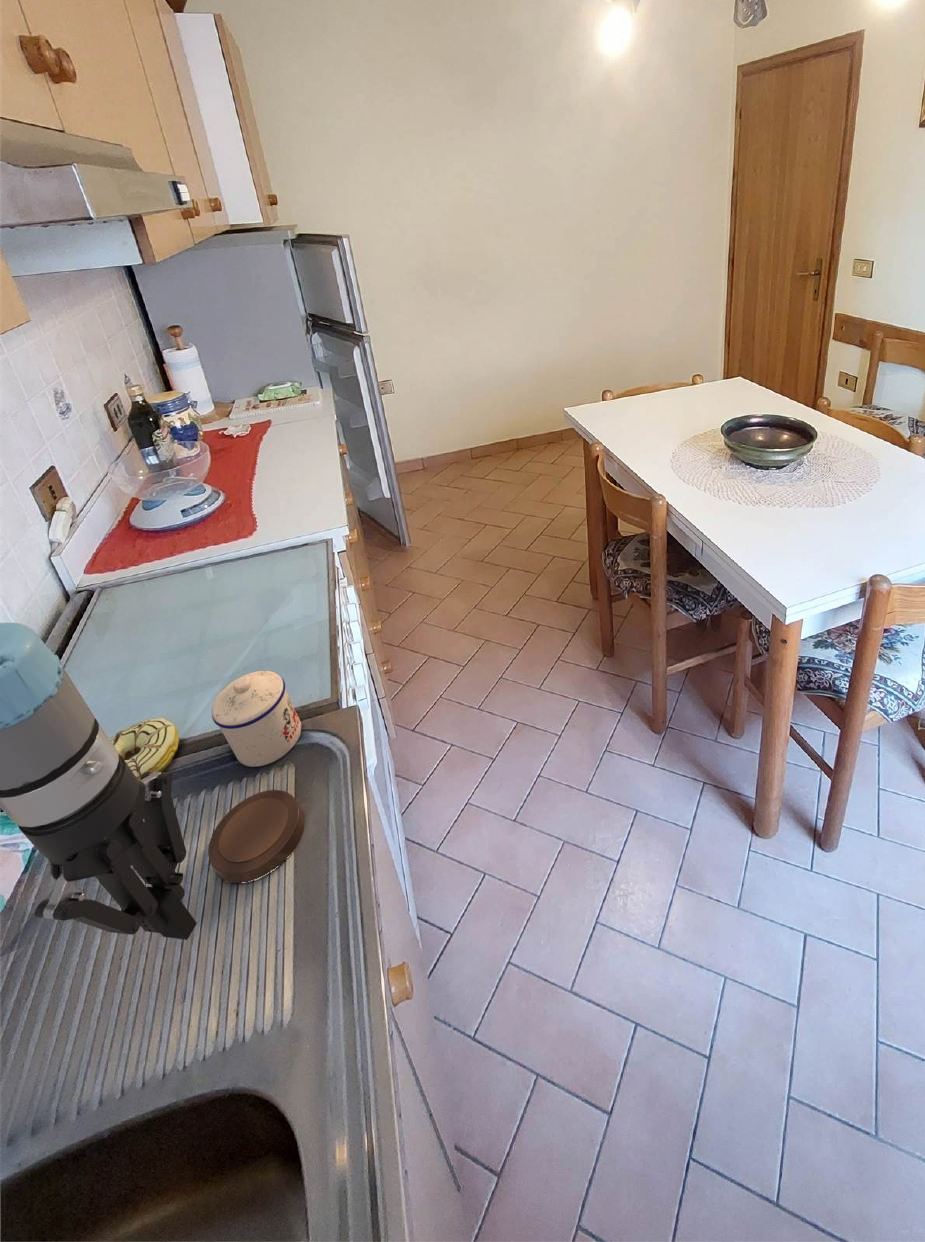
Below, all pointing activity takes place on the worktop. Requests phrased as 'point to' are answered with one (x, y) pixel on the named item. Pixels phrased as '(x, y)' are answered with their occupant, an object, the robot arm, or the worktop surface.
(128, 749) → the decorated donut
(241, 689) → the teacup with lid
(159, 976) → the worktop surface
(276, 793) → the plate
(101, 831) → the robot arm
